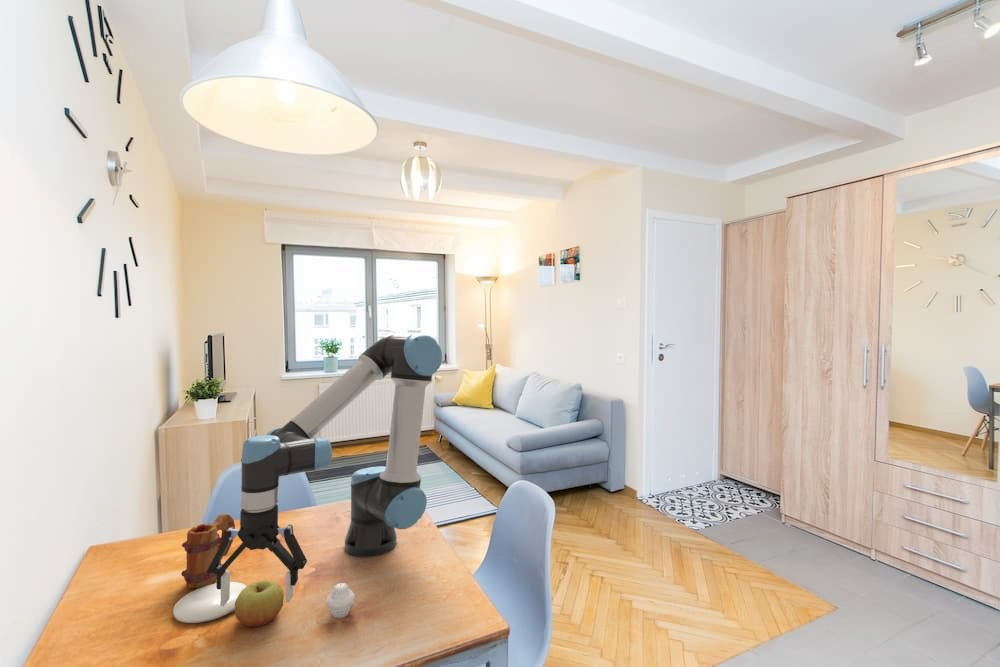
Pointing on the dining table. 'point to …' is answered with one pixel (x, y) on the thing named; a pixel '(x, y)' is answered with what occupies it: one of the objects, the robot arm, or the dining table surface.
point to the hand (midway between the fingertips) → (257, 600)
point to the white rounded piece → (340, 600)
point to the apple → (259, 603)
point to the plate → (206, 604)
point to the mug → (204, 550)
